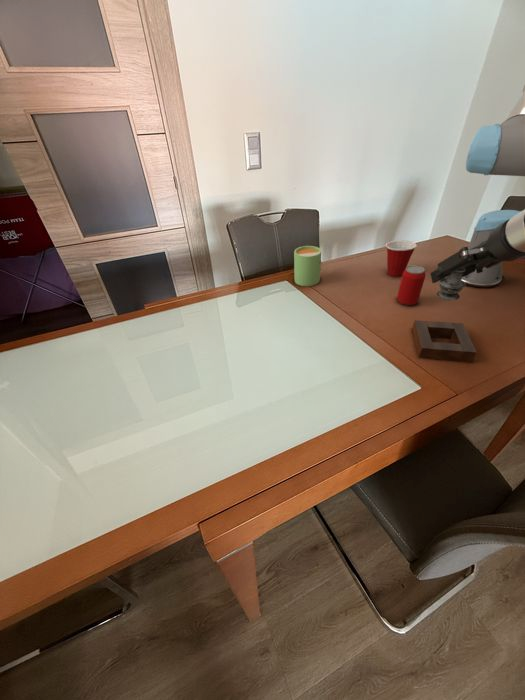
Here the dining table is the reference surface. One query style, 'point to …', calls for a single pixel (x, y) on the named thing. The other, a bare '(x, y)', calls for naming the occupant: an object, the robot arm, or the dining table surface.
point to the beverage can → (411, 285)
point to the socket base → (444, 351)
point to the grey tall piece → (451, 285)
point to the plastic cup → (398, 256)
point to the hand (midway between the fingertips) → (443, 276)
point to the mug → (307, 265)
